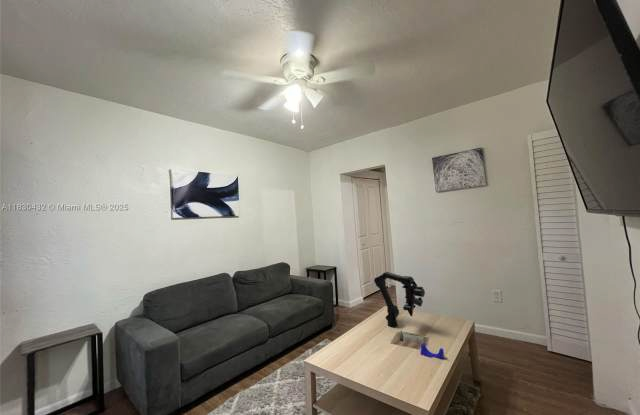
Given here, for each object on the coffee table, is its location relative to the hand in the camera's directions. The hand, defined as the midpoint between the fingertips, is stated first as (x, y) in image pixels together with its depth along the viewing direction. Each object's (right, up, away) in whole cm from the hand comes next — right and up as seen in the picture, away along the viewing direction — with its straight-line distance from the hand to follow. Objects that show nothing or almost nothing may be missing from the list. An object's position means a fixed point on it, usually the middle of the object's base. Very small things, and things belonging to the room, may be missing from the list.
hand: (411, 316), depth 186 cm
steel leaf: (-5, -11, -15) cm, 20 cm away
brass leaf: (-4, -11, -15) cm, 19 cm away
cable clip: (+1, -11, -33) cm, 35 cm away
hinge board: (-6, -12, -13) cm, 18 cm away
